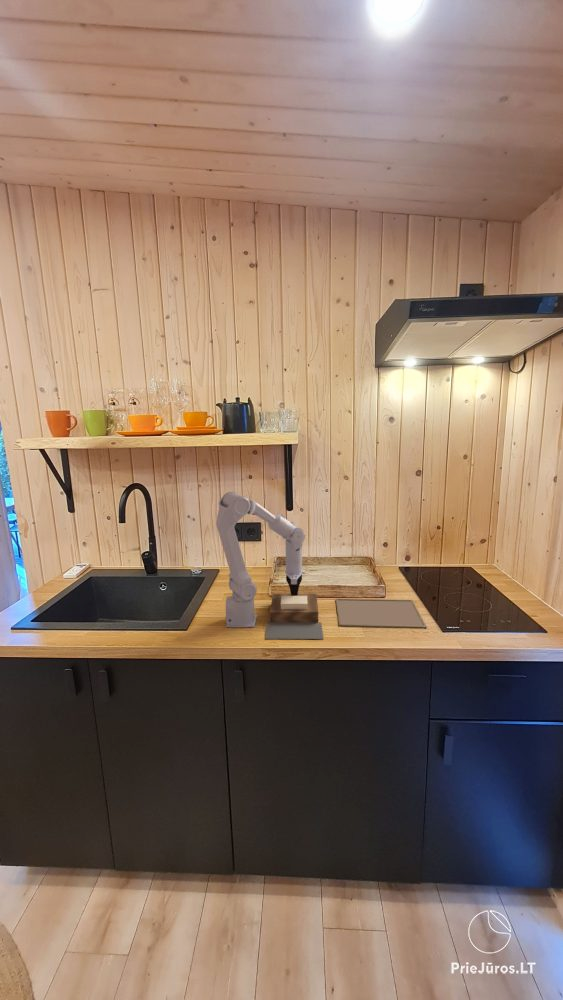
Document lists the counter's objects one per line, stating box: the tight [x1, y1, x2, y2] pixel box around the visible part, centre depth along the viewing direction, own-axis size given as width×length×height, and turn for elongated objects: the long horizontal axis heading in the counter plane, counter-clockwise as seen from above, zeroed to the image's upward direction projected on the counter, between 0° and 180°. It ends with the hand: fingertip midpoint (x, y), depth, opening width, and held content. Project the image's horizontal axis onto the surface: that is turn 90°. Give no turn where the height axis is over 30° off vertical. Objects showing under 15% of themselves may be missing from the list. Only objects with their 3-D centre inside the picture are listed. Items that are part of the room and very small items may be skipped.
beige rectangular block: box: [281, 596, 308, 609], centre depth 138 cm, size 9×6×2 cm, turn 88°
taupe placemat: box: [335, 598, 428, 629], centre depth 140 cm, size 19×1×28 cm
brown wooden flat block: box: [269, 593, 319, 622], centre depth 141 cm, size 16×14×4 cm
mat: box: [264, 621, 324, 641], centre depth 130 cm, size 18×10×1 cm, turn 88°
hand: (294, 595), depth 145 cm, fingers closed
